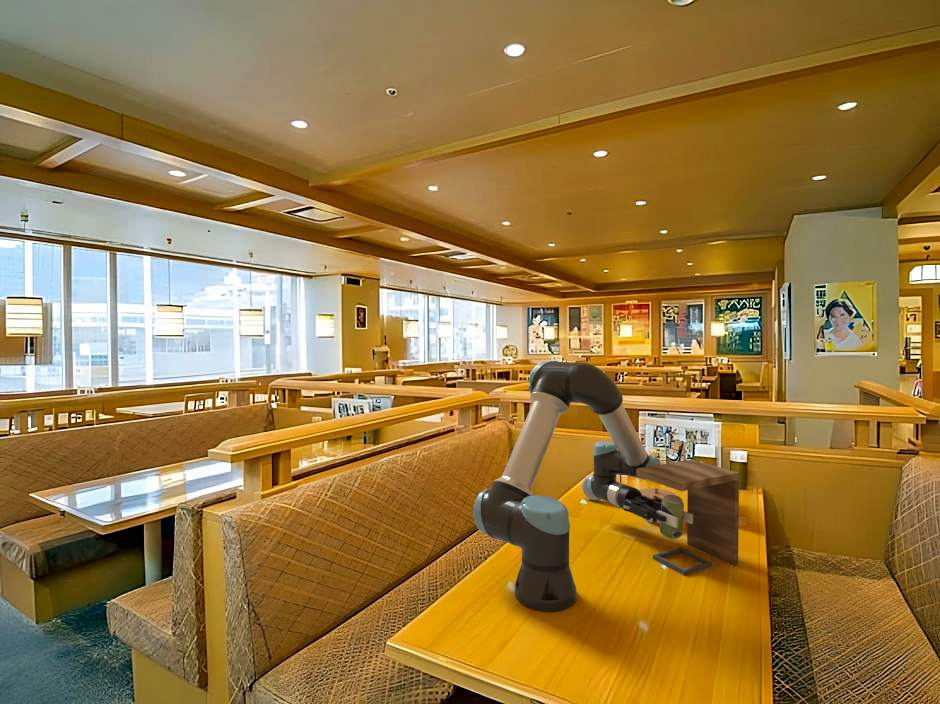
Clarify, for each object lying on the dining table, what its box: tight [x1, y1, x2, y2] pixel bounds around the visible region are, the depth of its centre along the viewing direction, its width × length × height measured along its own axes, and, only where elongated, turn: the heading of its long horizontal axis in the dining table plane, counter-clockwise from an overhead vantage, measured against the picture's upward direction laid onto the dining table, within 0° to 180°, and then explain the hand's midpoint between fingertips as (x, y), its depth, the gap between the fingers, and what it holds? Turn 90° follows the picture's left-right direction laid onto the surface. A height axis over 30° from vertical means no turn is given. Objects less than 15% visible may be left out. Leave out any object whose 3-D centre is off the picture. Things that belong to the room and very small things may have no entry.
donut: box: [581, 474, 602, 502], centre depth 195 cm, size 10×4×10 cm, turn 52°
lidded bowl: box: [638, 487, 676, 524], centre depth 175 cm, size 13×13×11 cm
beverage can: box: [659, 494, 685, 540], centre depth 147 cm, size 6×7×12 cm
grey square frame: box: [652, 547, 714, 576], centre depth 143 cm, size 11×11×1 cm
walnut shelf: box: [636, 459, 740, 567], centre depth 143 cm, size 22×16×26 cm
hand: (684, 520), depth 143 cm, fingers closed on beverage can, 5 cm apart
